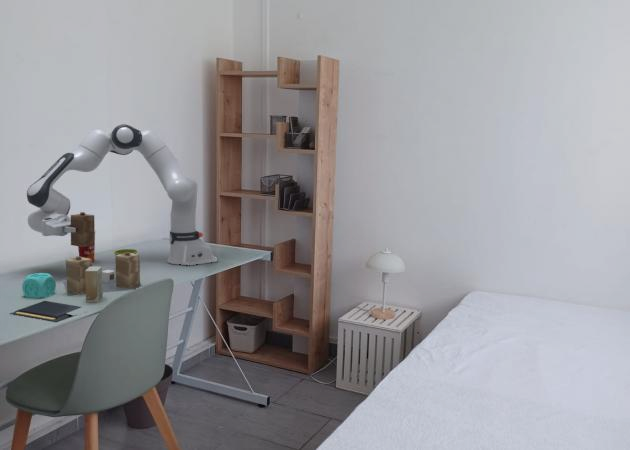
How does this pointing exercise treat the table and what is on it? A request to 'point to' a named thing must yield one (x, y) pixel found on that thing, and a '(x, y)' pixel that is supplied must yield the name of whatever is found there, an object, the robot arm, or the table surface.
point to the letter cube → (108, 276)
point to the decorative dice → (39, 285)
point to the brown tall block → (127, 270)
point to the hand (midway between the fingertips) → (84, 228)
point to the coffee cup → (87, 250)
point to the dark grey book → (47, 311)
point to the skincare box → (93, 284)
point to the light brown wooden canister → (77, 274)
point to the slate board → (105, 288)
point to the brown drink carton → (82, 230)
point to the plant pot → (125, 251)
